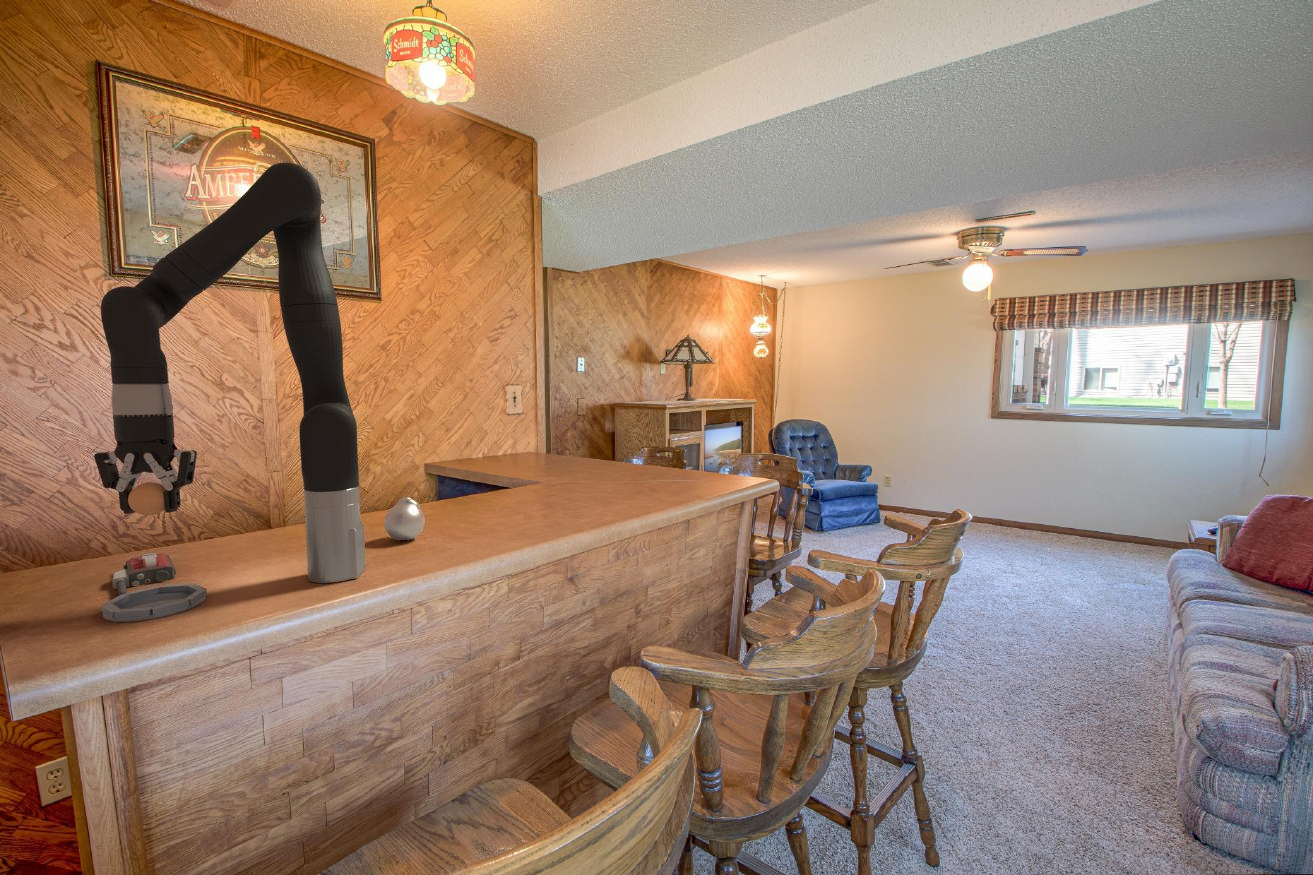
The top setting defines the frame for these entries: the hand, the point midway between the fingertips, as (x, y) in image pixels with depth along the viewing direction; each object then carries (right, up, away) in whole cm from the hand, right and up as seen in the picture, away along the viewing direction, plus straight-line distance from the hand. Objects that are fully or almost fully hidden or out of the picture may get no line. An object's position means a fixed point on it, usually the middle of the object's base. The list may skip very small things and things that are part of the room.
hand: (151, 511), depth 98 cm
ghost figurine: (+25, -12, +41) cm, 49 cm away
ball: (0, +2, 0) cm, 2 cm away
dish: (+2, -15, -1) cm, 16 cm away
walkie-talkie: (-11, -15, +11) cm, 21 cm away
